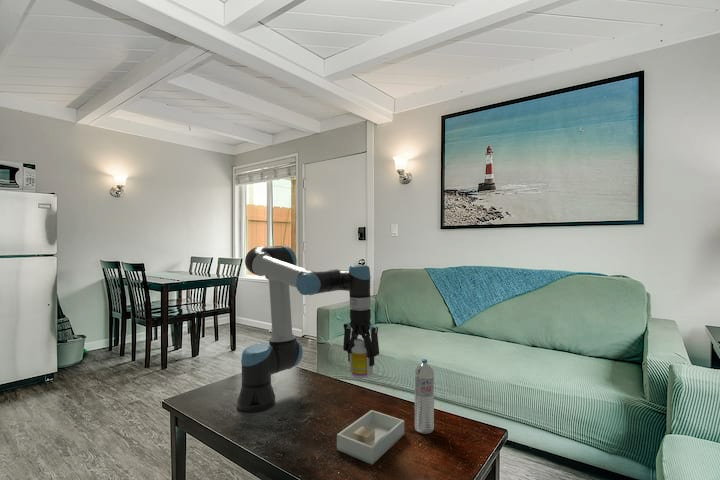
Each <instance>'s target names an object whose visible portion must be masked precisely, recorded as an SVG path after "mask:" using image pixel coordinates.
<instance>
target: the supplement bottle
mask: <svg viewBox="0 0 720 480" xmlns="http://www.w3.org/2000/svg"><path fill="white" fill-rule="evenodd" d="M354 344H355V346H354V347H352V372H351V376H352V377H353V378H354V379H355V378H356V379H366V378H369V377H370V376H367V357H368V353H367V349H366V346H365V342H364V339H363V338H362V337H358V338H357V339H354Z"/></svg>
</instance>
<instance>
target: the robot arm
mask: <svg viewBox="0 0 720 480" xmlns="http://www.w3.org/2000/svg"><path fill="white" fill-rule="evenodd" d="M297 260H298V259H297V255H296V253H295V252H294V250H293V249H292V248H291V247H290V246H286V245H271V246H269V245H268V246H267V245H265V246H262V245H261V246H256V247H253V248H251V249H250V250H249V251H248V252H247V253H246V256H245V258H244V263H245V267H246V269H247V270H248V271H249V272H250V273H251V274H253V275H256V276H258V277H264V276H265V277H264V278H266V280H268V283H269V300H270V301H269V302H270V317H271V333H272V335H271V337H270V338H269V340H268V341H269V342H268V343H264V342H261V343H260V342H259V343H256V344H253V345H252V344H251V345H250V346H247V347H245V348H244V349H243V350H242V353H241V361H240V363H241V388H240V391H239V395H238V397H237V401H236V407H237V409H238V410H240V411H242V412H244V413H258V412H262V411H266V410H269V409H271V408H272V407H274V406H275V404H276V395H275V391H274V388H273V386H272V375H274V374H277V373H281V372H283V371H286V370H290V369H292V368H294V367H297V366H298V365H299V363H300V362H301V361H302V359H303V355H304V354H303V351H304V350H303V346H302V345H301V342H300V341H299V340H297V336H295V334H294V333H293V323H292V310H291V309H292V308H291V296H290V295H291V293H290V286H291V287H294V288H296V289H297V292H298V293H300V295H303V296H313V295H319V294H324V293H329V292H330V293H331V292H336V291H346V292H347V291H348V292H349V308H350V310H349V319H350V322H346V323H344V324H343V330H344V333H343V347H342V348H343V351H344V352H345V351H346V352H347V361H348V362H349V373H352V347H354V346H355V344H354V339H357V338H359V336H361V338H363V339H364V342H365V346H366V349H367V353H368V357H367V376H369V377H370V376H372V375H373V374H374V370H373V369H374V368H373V367H374V366H375V357H376V356H379V355H380V346H379V337H378V332H379V327H378V326H374V325H372V323H371V319H372V309H371V307H372V305H371V301H372V300H371V298H372V297H371V278H372V277H371V269H370V266H369V265H366V264H365V265H364V264H361V265H360V264H357V265H356V264H355V265H354V264H353V265H350V266H349V267H348V270H346V269H345V270H344V269H337V268H335V269H329V270H327V271H325V270H324V271H314V270H310V269H308V268H305V267H301V266H298V263H297V262H298V261H297Z"/></svg>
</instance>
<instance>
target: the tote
mask: <svg viewBox="0 0 720 480" xmlns="http://www.w3.org/2000/svg"><path fill="white" fill-rule="evenodd" d="M362 426H363V427H366V428H369V429H371V430H374V431H375V444H374V445H372V446H370V445H367V444H365V443H362V442H359V441H357V440H354V439H353V433H354V432H355V431H356V430H358V429H359V428H360V427H362ZM404 436H405V420H404V419H401V418H397V417H395V416H392V415H388V414H385V413H382V412H379V411H376V410H374V409H371V410H369V411H367V413H365V414H364V415H362V416H361V417H359V418H358V419H357V420H355V421H353V422H352V423H351V424H349V425H348V426H347V427H345V428H344V429H343V430H341V431H340V432H338V433H337V434H336V450H337V451H339V452H341V453H343V454H346V455H348V456H350V457H352V458H353V457H354V459H355V458H356V459H358V460H360V461H362V462H365V463H367V464H370V465H371V466H373V464H375V463H376V462H377V461H378V460H379V459H380V458H381V457H382V456H383V455H384V454H385V453H387V451H389V450H390V449H391V448H392V447H393V446H394V445H395V444H396V443H397V442H398V441H399V440H401V438H402V437H404Z"/></svg>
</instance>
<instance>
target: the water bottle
mask: <svg viewBox="0 0 720 480" xmlns="http://www.w3.org/2000/svg"><path fill="white" fill-rule="evenodd" d="M414 376H415V377H414V429H415V431H416V432H418V433H420V434H423V435H428V434H431V433H433V431H434V429H435V428H434V427H435V393H434V391H435V390H434V388H435V385H434V383H435V381H434V380H435V379H434V378H435V371H434V369H433V368H432V367H431V365H430V364H428V359H426V358H423V359H421V363H420V364H419V365H418V366H416V368H415V370H414Z"/></svg>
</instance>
